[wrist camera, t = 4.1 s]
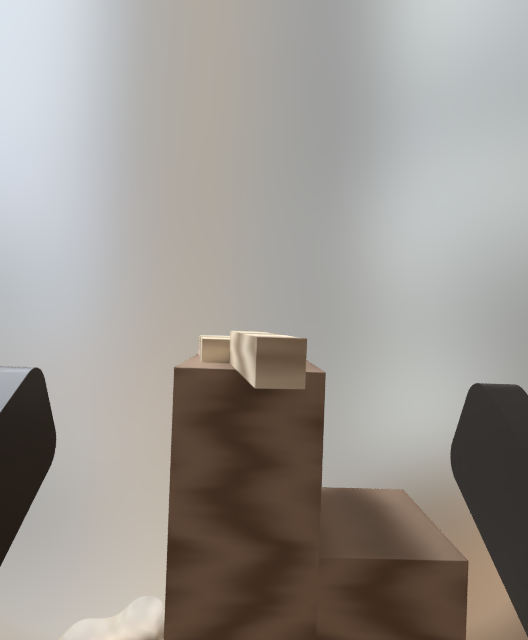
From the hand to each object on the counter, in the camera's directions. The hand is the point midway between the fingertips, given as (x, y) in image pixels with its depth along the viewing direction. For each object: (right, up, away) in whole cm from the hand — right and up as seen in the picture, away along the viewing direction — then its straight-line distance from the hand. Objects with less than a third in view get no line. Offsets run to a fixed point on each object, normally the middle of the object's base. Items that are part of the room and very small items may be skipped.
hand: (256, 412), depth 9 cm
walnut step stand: (+3, -33, +26) cm, 42 cm away
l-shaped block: (-1, -1, +22) cm, 22 cm away
